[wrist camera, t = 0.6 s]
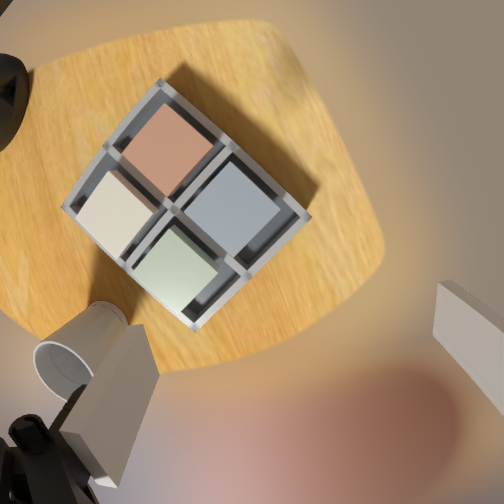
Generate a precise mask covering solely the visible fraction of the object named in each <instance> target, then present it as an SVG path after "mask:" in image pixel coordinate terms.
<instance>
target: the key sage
mask: <svg viewBox="0 0 504 504" xmlns="http://www.w3.org/2000/svg"><path fill="white" fill-rule="evenodd" d="M219 269H220V265H218V264H217V263H216V262H215V261H214V260H213V259H212V258H211V257H210V256H208V255H207V254H206V253H205V252H204V251H203V250H202V249H201V248H200V247H199V246H197V245H196V244H195V243H194V242H193V241H192V240H191V239H190V238H189V237H188V236H187V235H185V234H184V233H183V232H182V231H181V230H180V229H179V228H178V227H177V226H176V225H175V224H174V225H173V226H172V227H170V228H169V229H168V230H167V232H166V233H165V234H164V235H163V236H162V237H161V239H160V240H159V241H158V242H157V243H156V244H155V246H154V247H153V248H152V249H151V250H150V252H149V253H148V254H147V255H146V256H145V258H144V259H143V260H142V261H141V262H140V264H139V265H138V266H137V267H136V269H135V270H134V271H133V272H132V273H131V274H132V275H133V276H134V277H135V278H137V279H138V280H139V281H140V282H141V283H142V284H143V285H144V286H145V287H146V288H148V289H149V290H150V291H151V292H152V293H153V294H154V295H155V296H157V297H158V298H159V299H160V300H161V301H162V302H163V303H165V304H166V305H167V306H168V307H169V308H170V309H172V310H173V311H174V312H175V313H176V314H177V315H178V314H179V313H180V312H181V311H182V310H183V309H184V308H185V307H186V306H187V305H188V304H189V303H190V302H191V301H192V300H193V299H194V297H195V296H196V295H197V294H198V293H199V292H200V291H201V290H202V289H203V288H204V287H205V286H206V285H207V284H208V283H209V282H210V281H211V280H212V279H213V278H214V277H215V276H216V275H217V274H218V272H219Z"/></svg>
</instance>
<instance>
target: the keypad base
mask: <svg viewBox="0 0 504 504" xmlns="http://www.w3.org/2000/svg"><path fill="white" fill-rule="evenodd" d="M164 103H166V104H167V105H169V106H170V107H171V108H172V109H174V110H175V111H176V112H177V113H178V114H179V115H180V116H182V117H183V118H184V119H185V120H186V121H187V122H188V123H189V124H191V125H192V126H193V127H194V128H195V129H196V130H197V131H198V132H200V133H201V134H202V135H203V136H204V137H205V138H206V139H207V140H208V141H210V142H211V143H212V144H213V145H214V146H215V147H216V148H215V149H214V150H213V151H212V152H211V153H210V154H209V155H208V156H207V157H206V158H205V159H204V160H203V162H202V163H201V164H200V165H199V166H198V167H197V168H196V169H195V170H194V171H193V172H192V174H191V175H190V176H189V177H188V178H187V179H186V180H185V181H184V183H183V184H182V185H181V186H180V187H179V188H178V189H177V190H176V192H175V193H174V194H173V195H171V196H168V197H167V196H166V195H165V194H163V193H162V192H161V191H160V190H159V189H158V188H157V187H156V186H155V185H154V184H153V183H152V182H151V181H150V180H149V179H147V178H146V177H145V176H144V175H143V174H142V173H141V172H140V171H139V170H138V169H137V168H136V167H135V166H134V165H133V164H131V163H130V162H129V161H128V160H127V159H126V158H125V157H124V156H123V155H122V152H123V151H124V150H125V149H126V147H127V146H128V145H129V144H130V142H131V141H132V140H133V139H134V137H135V136H136V135H137V134H138V133H139V131H140V130H141V129H142V128H143V127H144V126H145V124H146V123H147V122H148V121H149V120H150V119H151V117H152V116H153V115H154V114H155V113H156V112H157V111H158V110H159V108H160V107H161V106H162V105H163V104H164ZM230 161H231V162H233V163H234V164H235V165H236V166H237V167H238V168H239V169H240V170H241V171H242V172H243V173H244V174H245V175H246V176H248V177H249V178H250V179H251V180H252V181H253V182H254V183H255V184H256V185H257V186H258V187H259V188H260V189H261V190H262V191H263V192H264V193H265V194H266V195H268V196H269V197H270V198H271V199H272V200H273V201H274V202H275V203H276V204H277V205H278V206H279V207H280V209H281V210H280V211H279V212H278V213H277V214H276V215H275V216H274V217H273V218H272V219H271V220H270V221H269V222H268V223H267V224H266V225H265V226H264V227H263V228H262V229H261V230H260V231H259V232H258V233H257V234H256V235H255V236H254V237H253V238H252V239H251V240H250V241H249V242H248V243H247V244H246V245H245V246H244V247H243V248H242V249H241V250H240V251H239V252H238V253H237V254H236V255H235V257H234V258H233V257H232V256H231V255H230V254H229V253H227V252H226V251H225V250H224V249H223V248H222V247H221V246H220V245H219V244H218V243H216V242H215V241H214V240H213V239H212V238H211V237H210V236H209V235H208V234H207V233H206V232H205V231H203V230H202V229H201V228H200V227H199V226H198V225H197V224H196V223H195V222H194V221H193V220H191V219H190V218H189V217H188V216H187V215H186V214H185V213H184V211H185V210H186V209H187V208H188V206H189V205H190V204H191V203H192V202H193V201H194V200H195V199H196V198H197V196H198V195H199V194H200V193H201V192H202V191H203V190H204V189H205V188H206V187H207V185H208V184H209V183H210V182H211V181H212V180H213V179H214V178H215V177H216V176H217V175H218V174H219V173H220V172H221V170H222V169H223V168H224V167H225V166H226V165H227V164H228V163H229V162H230ZM111 170H117V171H118V172H119V173H120V174H122V175H123V176H124V177H125V178H126V179H127V180H128V181H129V182H130V183H131V184H132V185H133V186H134V187H135V188H136V189H137V190H138V191H139V192H140V193H141V194H143V195H144V196H145V197H146V198H147V199H148V200H149V201H150V202H151V203H152V204H153V205H154V206H155V207H156V208H157V209H158V210H159V211H158V213H157V214H156V215H155V216H154V217H153V219H152V220H151V221H150V222H149V223H148V225H147V226H146V227H145V228H144V230H143V231H142V232H141V233H140V235H139V236H138V237H137V238H136V240H135V241H134V242H133V243H132V245H131V246H130V247H129V248H128V250H127V251H126V252H125V253H124V254H123V255H122V256H121V257H119V258H118V259H117V260H116V259H115V258H114V257H113V256H112V255H111V254H110V253H109V252H108V251H107V250H106V249H105V248H104V247H103V246H102V245H101V244H100V243H99V242H98V241H97V240H96V239H95V238H94V237H93V236H92V235H91V234H90V233H89V232H88V231H87V230H86V229H85V228H84V227H83V226H82V225H81V224H80V223H79V222H78V221H77V220H76V219H75V218H76V216H77V215H78V213H79V212H80V210H81V209H82V207H83V206H84V204H85V203H86V201H87V200H88V198H89V197H90V195H91V194H92V193H93V191H94V190H95V188H96V187H97V185H98V184H99V183H100V181H101V180H102V179H103V177H104V176H105V174H106V173H107V172H108V171H111ZM61 208H62V209H63V210H64V211H65V212H66V213H67V214H68V215H69V216H70V217H71V218H72V219H73V220H74V222H75V223H76V224H77V225H78V226H79V227H80V228H81V229H82V230H83V231H84V232H85V233H86V234H87V235H88V236H89V237H90V238H91V239H92V240H93V241H94V242H95V243H96V244H97V245H98V246H99V247H100V248H101V249H102V250H103V251H104V252H105V253H106V254H107V255H108V256H110V257H111V258H112V259H113V260H114V261H115V262H116V263H117V264H118V265H119V266H120V267H121V268H122V269H123V270H124V271H125V272H126V273H127V274H129V275H130V276H131V277H132V278H133V279H134V280H135V281H136V282H137V283H138V284H139V285H141V286H142V287H143V288H144V289H145V290H146V291H147V292H148V293H149V294H151V295H152V296H153V297H154V298H155V299H156V300H157V301H159V302H160V303H161V304H162V305H163V306H164V307H165V308H167V309H168V310H169V311H170V312H171V313H172V314H174V315H175V316H176V317H177V318H178V319H180V320H181V321H182V322H183V323H184V324H185V325H187V326H188V327H189V328H190V329H192V330H193V331H194V332H196V331H197V330H198V329H199V328H200V327H201V326H202V325H203V324H204V323H205V322H206V321H208V320H209V319H210V318H211V317H212V316H213V315H214V314H215V313H216V312H217V311H218V310H219V309H220V308H221V307H222V306H223V305H224V304H225V303H226V302H227V301H228V300H229V299H230V298H231V297H232V296H233V295H234V294H235V293H236V292H237V291H238V290H239V289H240V288H242V287H243V286H244V285H245V284H246V283H247V282H248V281H249V280H250V279H251V278H252V277H253V276H254V275H255V274H256V273H257V272H258V271H259V270H260V269H261V268H262V267H263V266H264V265H265V264H266V263H267V262H268V261H269V260H270V259H271V258H272V257H273V256H274V255H275V254H276V253H277V252H278V251H279V250H280V249H281V248H282V247H283V246H284V245H285V244H286V243H287V242H288V241H289V240H290V239H291V238H292V237H293V236H294V235H295V234H296V233H297V232H298V231H299V230H300V229H301V228H302V227H303V226H304V225H305V224H306V223H307V222H308V221H309V220H310V219H311V218H312V216H311V215H310V214H309V213H308V212H307V211H306V210H305V209H304V208H303V207H302V206H301V205H300V204H299V203H298V202H297V201H296V200H295V199H294V198H293V197H292V196H291V195H290V194H289V193H288V192H287V191H286V190H285V189H284V188H283V187H282V186H281V185H279V184H278V183H277V182H276V181H275V180H274V179H273V178H272V177H271V176H270V175H269V174H268V173H267V172H266V171H265V170H264V169H263V168H262V167H261V166H260V165H259V164H258V163H257V162H255V161H254V160H253V159H252V158H251V157H250V156H249V155H248V154H247V153H246V152H245V151H244V150H243V149H242V148H240V147H239V146H238V145H237V144H236V143H235V142H234V141H233V140H232V139H231V138H229V137H228V136H227V135H226V134H225V133H224V132H223V131H222V130H221V129H220V128H218V127H217V126H216V125H215V124H214V123H213V122H212V121H211V120H209V119H208V118H207V117H206V116H205V115H204V114H203V113H201V112H200V111H199V110H198V109H197V108H196V107H195V106H193V105H192V104H191V103H190V102H189V101H188V100H186V99H185V98H184V97H183V96H182V95H181V94H179V93H178V92H177V91H176V90H175V89H173V88H172V87H171V86H170V85H169V84H167V83H166V82H165V81H164V80H163V79H161V78H160V79H159V80H158V81H157V82H156V83H155V84H154V85H153V86H152V87H151V88H150V90H149V91H148V92H147V93H146V94H145V95H144V96H143V97H142V98H141V100H140V101H139V102H138V103H137V104H136V105H135V106H134V108H133V109H132V110H131V111H130V112H129V114H128V115H127V116H126V117H125V118H124V120H123V121H122V122H121V123H120V124H119V126H118V127H117V128H116V129H115V131H114V132H113V133H112V135H111V136H110V137H109V138H108V140H107V141H106V142H105V144H104V145H103V146H102V148H101V149H100V150H99V152H98V153H97V154H96V156H95V157H94V158H93V160H92V161H91V163H90V164H89V165H88V167H87V168H86V170H85V171H84V173H83V174H82V175H81V177H80V178H79V180H78V181H77V183H76V184H75V186H74V187H73V189H72V190H71V192H70V193H69V195H68V197H67V198H66V200H65V201H64V203H63V205H62V206H61ZM174 224H175V225H176V226H177V227H178V228H179V229H180V230H181V231H182V232H183V233H184V234H185V235H187V236H188V237H189V238H190V239H191V240H192V241H193V242H194V243H195V244H196V245H197V246H199V247H200V248H201V249H202V250H203V251H204V252H205V253H206V254H207V255H208V256H210V257H211V258H212V259H213V260H214V261H215V262H216V263H217V264H218V265H220V269H219V272H218V274H217V275H216V276H215V277H214V278H213V279H212V280H211V281H210V282H209V283H208V284H207V285H206V286H205V287H204V288H203V289H202V290H201V291H200V292H199V293H198V294H197V295H196V296H195V297H194V299H193V300H192V301H191V302H190V303H189V304H188V305H187V306H186V307H185V308H184V309H183V310H182V311H181V312H180V313H179V314H178V315H177V314H176V313H175V312H174V311H173V310H172V309H170V308H169V307H168V306H167V305H166V304H165V303H163V302H162V301H161V300H160V299H159V298H158V297H157V296H155V295H154V294H153V293H152V292H151V291H150V290H149V289H148V288H146V287H145V286H144V285H143V284H142V283H141V282H140V281H139V280H138V279H137V278H135V277H134V276H133V275H132V274H131V273H132V272H133V271H134V270H135V269H136V267H137V266H138V265H139V264H140V262H141V261H142V260H143V259H144V258H145V256H146V255H147V254H148V253H149V252H150V250H151V249H152V248H153V247H154V246H155V244H156V243H157V242H158V241H159V240H160V239H161V237H162V236H163V235H164V234H165V233H166V232H167V230H168V229H169V228H170V227H172V226H173V225H174Z"/></svg>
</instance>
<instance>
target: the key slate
mask: <svg viewBox="0 0 504 504" xmlns="http://www.w3.org/2000/svg"><path fill="white" fill-rule="evenodd" d="M280 210H281V209H280V207H279V206H278V205H277V204H276V203H275V202H274V201H273V200H272V199H271V198H270V197H269V196H268V195H266V194H265V193H264V192H263V191H262V190H261V189H260V188H259V187H258V186H257V185H256V184H255V183H254V182H253V181H252V180H251V179H250V178H249V177H248V176H246V175H245V174H244V173H243V172H242V171H241V170H240V169H239V168H238V167H237V166H236V165H235V164H234V163H233V162H231V161H230V162H229V163H228V164H227V165H226V166H225V167H224V168H223V169H222V170H221V172H220V173H219V174H218V175H217V176H216V177H215V178H214V179H213V180H212V181H211V182H210V183H209V184H208V185H207V187H206V188H205V189H204V190H203V191H202V192H201V193H200V194H199V195H198V196H197V198H196V199H195V200H194V201H193V202H192V203H191V204H190V205H189V206H188V208H187V209H186V210H185V211H184V213H185V214H186V215H187V216H188V217H189V218H190V219H191V220H193V221H194V222H195V223H196V224H197V225H198V226H199V227H200V228H201V229H202V230H203V231H205V232H206V233H207V234H208V235H209V236H210V237H211V238H212V239H213V240H214V241H215V242H216V243H218V244H219V245H220V246H221V247H222V248H223V249H224V250H225V251H226V252H227V253H229V254H230V255H231V256H232V257H233V258H234V257H235V255H236V254H237V253H238V252H239V251H240V250H241V249H242V248H243V247H244V246H245V245H246V244H247V243H248V242H249V241H250V240H251V239H252V238H253V237H254V236H255V235H256V234H257V233H258V232H259V231H260V230H261V229H262V228H263V227H264V226H265V225H266V224H267V223H268V222H269V221H270V220H271V219H272V218H273V217H274V216H275V215H276V214H277V213H278V212H279V211H280Z"/></svg>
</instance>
